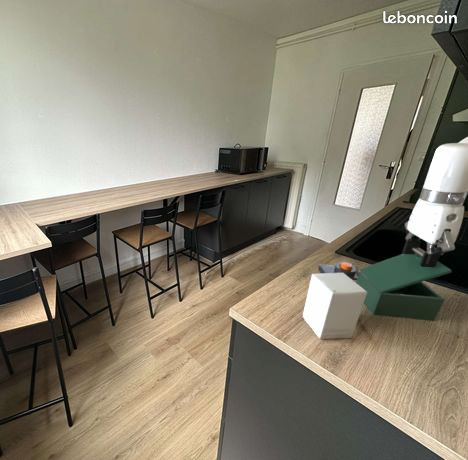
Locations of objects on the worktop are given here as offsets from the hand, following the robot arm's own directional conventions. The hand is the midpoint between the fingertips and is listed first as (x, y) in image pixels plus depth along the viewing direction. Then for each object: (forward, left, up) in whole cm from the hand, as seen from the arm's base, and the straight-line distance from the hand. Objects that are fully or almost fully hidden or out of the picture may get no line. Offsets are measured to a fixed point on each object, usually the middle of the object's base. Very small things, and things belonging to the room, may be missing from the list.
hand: (417, 259), depth 69 cm
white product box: (+23, +11, -17) cm, 31 cm away
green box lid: (+3, 0, -4) cm, 5 cm away
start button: (+8, -16, -14) cm, 23 cm away
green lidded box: (+2, 0, -17) cm, 17 cm away
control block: (+10, -16, -17) cm, 26 cm away
